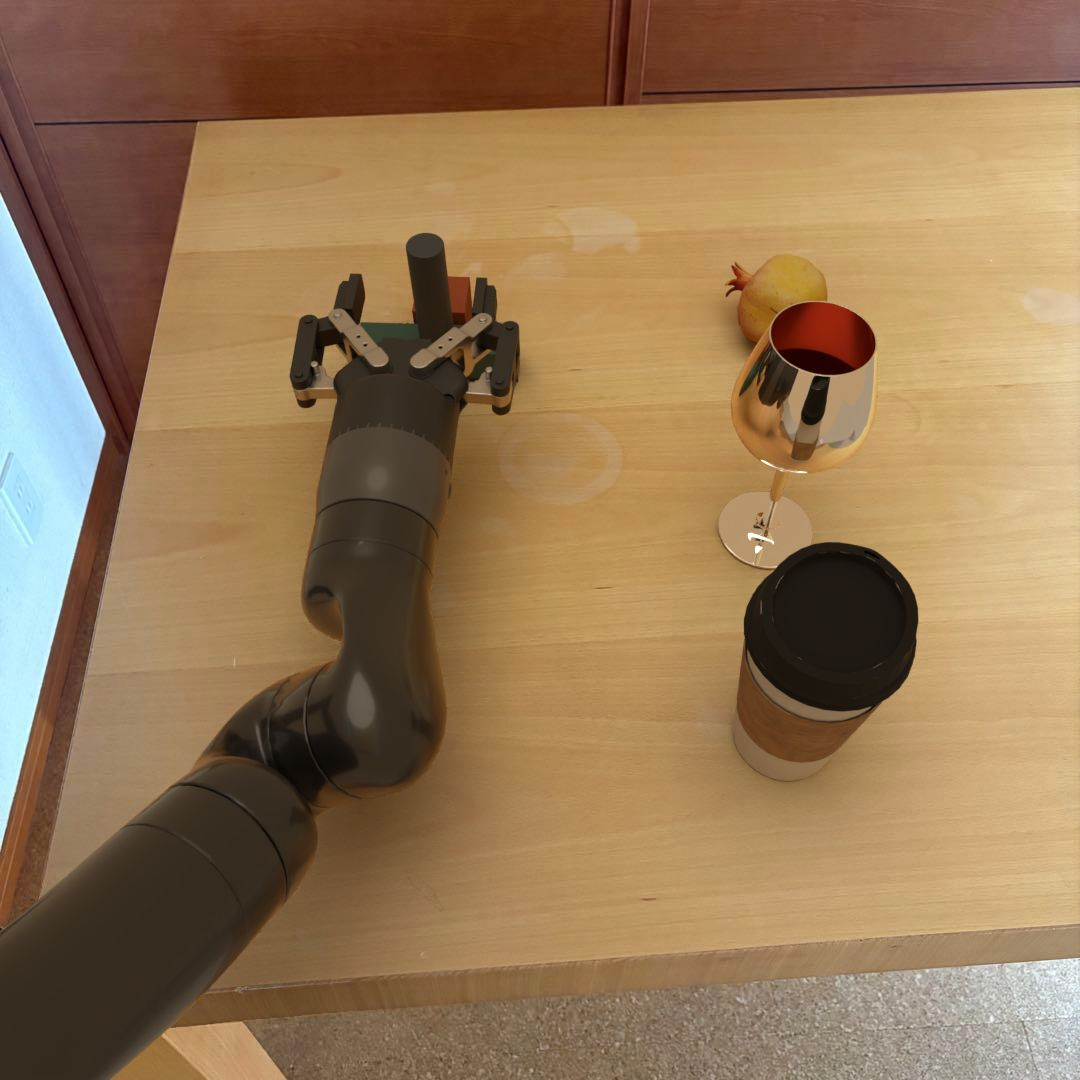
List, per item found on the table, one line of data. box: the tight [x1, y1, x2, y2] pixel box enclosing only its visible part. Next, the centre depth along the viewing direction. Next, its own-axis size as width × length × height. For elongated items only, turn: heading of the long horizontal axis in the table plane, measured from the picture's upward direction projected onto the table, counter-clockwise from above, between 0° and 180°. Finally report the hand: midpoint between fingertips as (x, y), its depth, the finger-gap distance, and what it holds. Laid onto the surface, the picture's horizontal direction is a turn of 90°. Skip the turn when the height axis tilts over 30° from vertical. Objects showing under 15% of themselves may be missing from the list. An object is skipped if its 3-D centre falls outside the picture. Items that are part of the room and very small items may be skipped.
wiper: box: [360, 232, 521, 383], centre depth 73 cm, size 12×3×12 cm, turn 87°
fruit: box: [724, 253, 828, 344], centre depth 77 cm, size 7×7×10 cm
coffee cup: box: [732, 541, 919, 782], centre depth 54 cm, size 8×8×15 cm
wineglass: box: [717, 301, 879, 570], centre depth 62 cm, size 8×8×18 cm
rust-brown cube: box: [411, 276, 473, 325], centre depth 78 cm, size 4×4×4 cm
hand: (420, 284), depth 69 cm, fingers open, 8 cm apart
